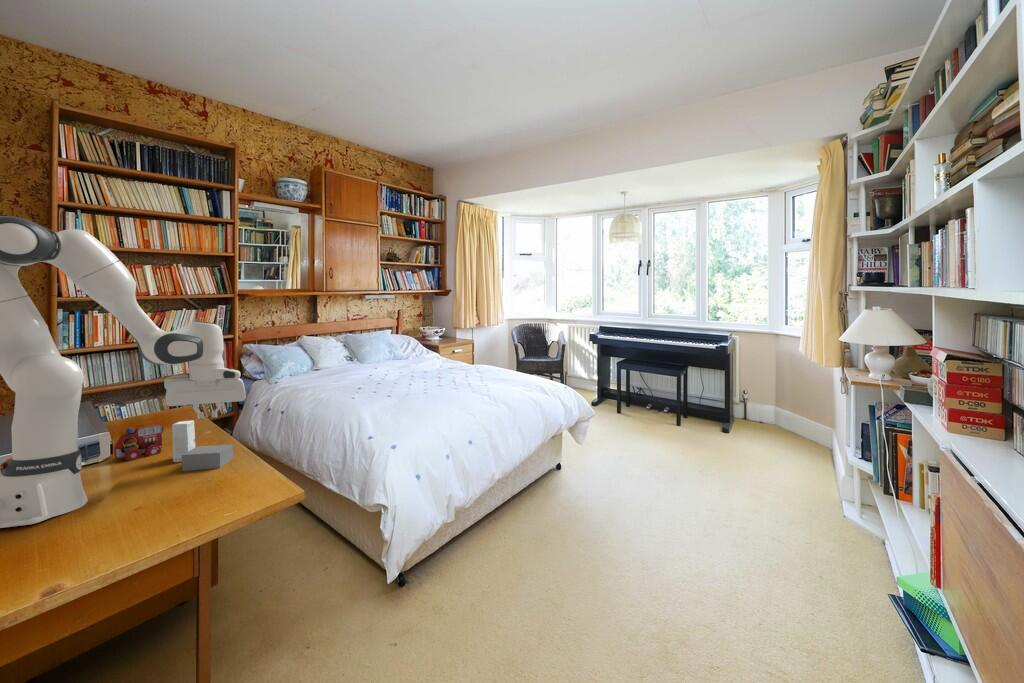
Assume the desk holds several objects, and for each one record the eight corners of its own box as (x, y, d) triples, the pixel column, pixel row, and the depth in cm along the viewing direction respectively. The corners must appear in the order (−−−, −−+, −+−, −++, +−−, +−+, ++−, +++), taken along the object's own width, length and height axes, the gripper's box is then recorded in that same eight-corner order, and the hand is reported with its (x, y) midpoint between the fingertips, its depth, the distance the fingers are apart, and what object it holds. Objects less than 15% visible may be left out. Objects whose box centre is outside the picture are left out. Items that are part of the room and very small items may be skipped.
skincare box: (188, 461, 135) (188, 423, 135) (171, 462, 133) (171, 424, 133) (196, 456, 141) (195, 419, 140) (180, 457, 139) (179, 420, 139)
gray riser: (181, 471, 126) (181, 455, 125) (197, 461, 135) (197, 446, 135) (220, 469, 128) (219, 452, 128) (232, 459, 138) (232, 444, 138)
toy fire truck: (111, 460, 136) (110, 428, 136) (159, 451, 146) (159, 421, 146) (117, 464, 132) (117, 431, 132) (166, 455, 142) (166, 424, 142)
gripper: (162, 376, 123) (162, 423, 123) (245, 372, 134) (245, 416, 134) (165, 374, 128) (166, 419, 129) (245, 371, 139) (245, 412, 139)
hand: (207, 417), depth 131 cm, fingers closed
